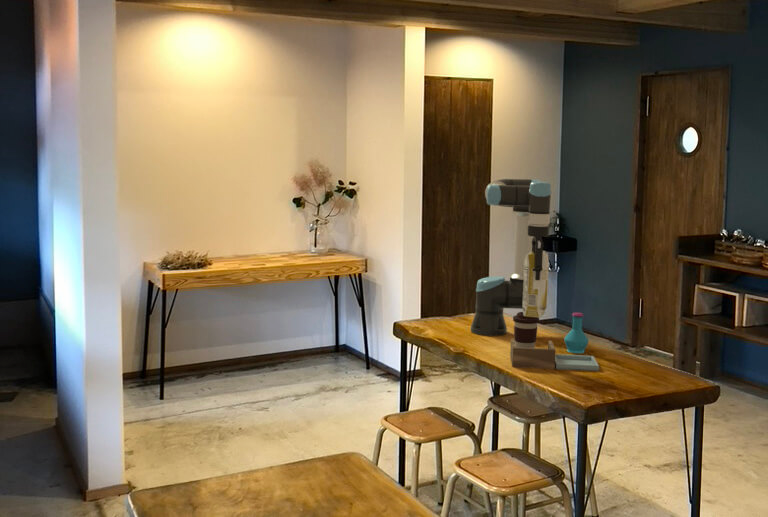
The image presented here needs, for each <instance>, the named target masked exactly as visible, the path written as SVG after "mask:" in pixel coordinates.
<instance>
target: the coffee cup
mask: <svg viewBox="0 0 768 517" xmlns="http://www.w3.org/2000/svg"><path fill="white" fill-rule="evenodd" d="M512 321H513V322H514V325H513V334H514V335H513V336H514V338H513V339H514V340H515V344H516V347H519V348H536V342H537V334H538V323H540V318H537V317H526V316H524V315H523V311H518V312H517V313H516V315H513V316H512Z"/></svg>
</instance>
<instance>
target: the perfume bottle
mask: <svg viewBox="0 0 768 517" xmlns="http://www.w3.org/2000/svg"><path fill="white" fill-rule="evenodd" d="M571 316H572V325H571V326H572V329H570V331H569V332H568V333H567V334H566V336H564V338H563V340H564V341H563V342H564V344H565V347H566V348H567V349H566V351H567V352H568V353H572V354H584V353H585V349H587V346H588V345H589V338H588V337H587V335H586V334H585V332H584V331H583V327H582V326H583V318H584V316H585V315H584V314H583V313H582V312H577V311H576V312H573V313H571Z"/></svg>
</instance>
